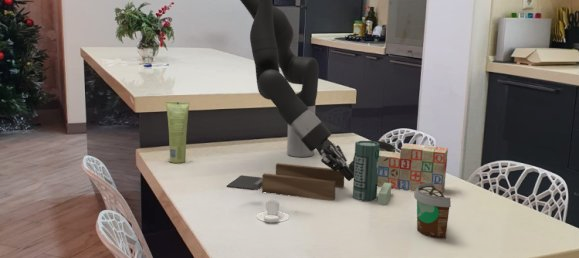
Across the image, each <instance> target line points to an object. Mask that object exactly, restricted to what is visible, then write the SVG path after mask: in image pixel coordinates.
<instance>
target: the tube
mask: <svg viewBox="0 0 579 258" xmlns="http://www.w3.org/2000/svg"><path fill="white" fill-rule="evenodd" d="M165 106H166V115H167V123H168V142H169V143H168V144H169V161H170V162H171V163H174V164H181V163H185V162H186V159H187V158H186V156H187V155H186V153H187V152H186V150H187V133H188V119H189V118H188V117H189V109H190V102H188V101H187V102H186V101H185V102H184V101H167V100H166V101H165Z"/></svg>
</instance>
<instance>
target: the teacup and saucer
mask: <svg viewBox="0 0 579 258" xmlns="http://www.w3.org/2000/svg"><path fill="white" fill-rule="evenodd" d="M265 202H266V204H265V205H266V210H265V211H261V212H259V213H257V214H256V219H258V220H259V221H260V222H261V221H262V222H264V223H281V222H285V221H287V220H289V218H290V215H289V214H288V213H287V212H284V211H280V202H279V201H278V200H274V199H271V200H267V201H265ZM266 212H267V213H266ZM278 212H280V213H282V212H283V214H285V216H286V217H285V218H282V219H280V217H279V213H278ZM263 213H266V215H265V216H264V214H263ZM262 216H263V218H262Z"/></svg>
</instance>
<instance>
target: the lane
mask: <svg viewBox="0 0 579 258" xmlns="http://www.w3.org/2000/svg"><path fill="white" fill-rule="evenodd" d="M261 178H262V187H261V191H262V193H263V192H266V193H265V194H271V193H276V194H275V195H280V194H282V195H283V196H288V195H290V197H297V196H298V198H307V199H315V200H316V199H317V200H325V201H332V202H333V201H335V199H336V188H337V189H344V188H345V177H344V176H343V175H342V173H341V172H340V171H334V170H333V169H331V168H330V167H319V166H310V165H300V164H289V163H280V162H279V163H278V162H277V163H276V164H275V174H273V173H266V172H265V173H263V174H262V177H261Z"/></svg>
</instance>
